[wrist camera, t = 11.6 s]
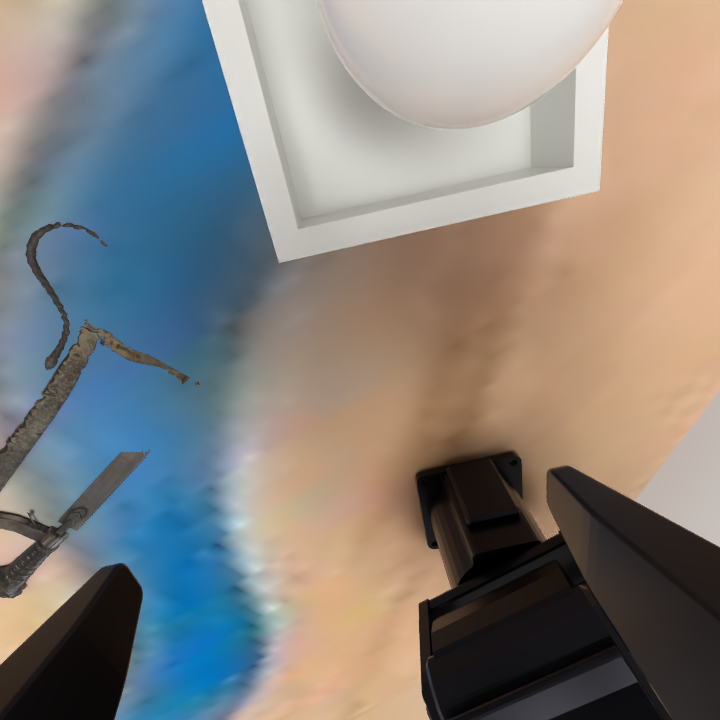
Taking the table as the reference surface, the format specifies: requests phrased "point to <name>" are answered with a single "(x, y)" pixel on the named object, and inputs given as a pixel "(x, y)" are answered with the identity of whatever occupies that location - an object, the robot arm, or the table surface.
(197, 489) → the table surface
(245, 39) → the tray
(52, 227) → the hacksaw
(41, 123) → the table surface
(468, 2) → the lightbulb
